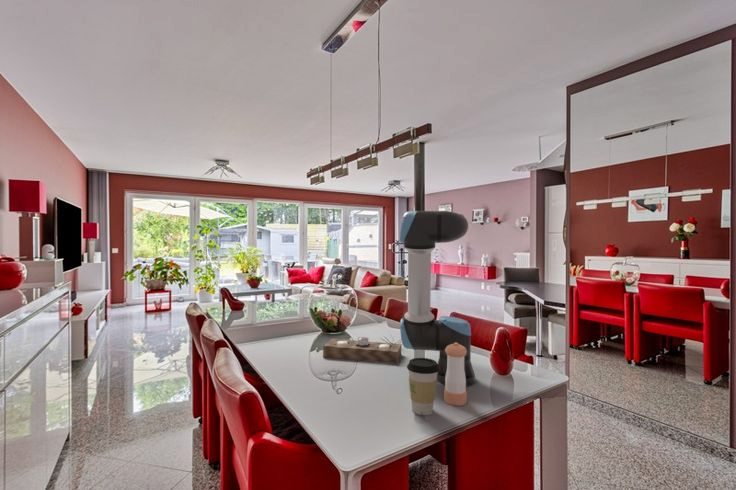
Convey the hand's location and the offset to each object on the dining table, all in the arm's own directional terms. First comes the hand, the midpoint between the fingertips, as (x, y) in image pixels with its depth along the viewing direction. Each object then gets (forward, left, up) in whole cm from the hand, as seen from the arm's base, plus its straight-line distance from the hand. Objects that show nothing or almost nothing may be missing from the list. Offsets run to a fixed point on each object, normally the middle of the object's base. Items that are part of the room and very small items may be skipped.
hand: (423, 289), depth 180 cm
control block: (-21, +26, -29) cm, 45 cm away
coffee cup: (-70, -5, -30) cm, 76 cm away
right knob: (-21, +16, -29) cm, 39 cm away
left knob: (-21, +36, -29) cm, 51 cm away
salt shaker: (-60, -15, -30) cm, 69 cm away
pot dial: (-21, +26, -26) cm, 43 cm away
